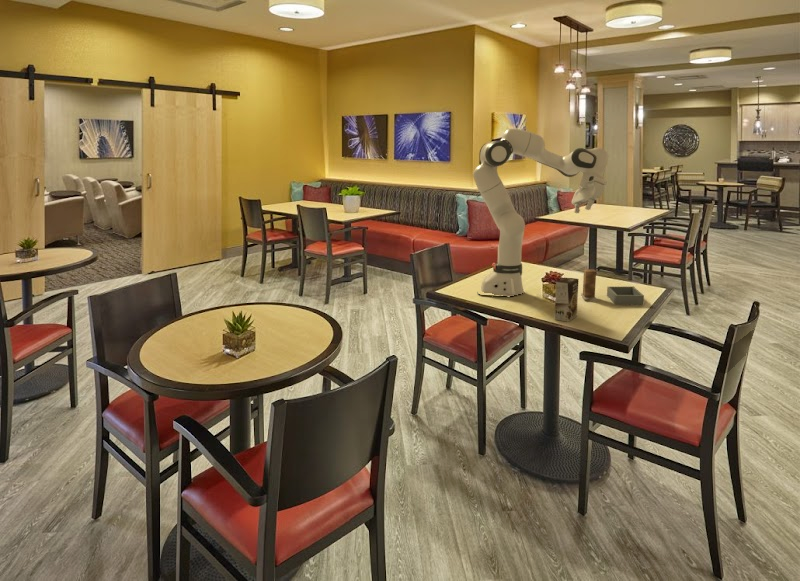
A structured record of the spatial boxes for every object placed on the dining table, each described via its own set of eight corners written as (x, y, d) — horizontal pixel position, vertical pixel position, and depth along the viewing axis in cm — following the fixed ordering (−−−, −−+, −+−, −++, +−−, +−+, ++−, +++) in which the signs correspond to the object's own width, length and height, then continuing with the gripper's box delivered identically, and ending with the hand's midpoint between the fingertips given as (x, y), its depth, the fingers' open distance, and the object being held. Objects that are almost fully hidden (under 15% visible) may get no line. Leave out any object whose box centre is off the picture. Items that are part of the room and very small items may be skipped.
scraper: (584, 301, 252) (586, 272, 249) (580, 295, 261) (582, 268, 257) (596, 301, 252) (598, 272, 248) (592, 295, 260) (593, 268, 257)
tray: (615, 305, 245) (616, 295, 244) (606, 295, 260) (607, 286, 259) (643, 305, 243) (644, 295, 242) (632, 295, 258) (633, 286, 257)
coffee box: (569, 322, 225) (571, 283, 220) (553, 319, 228) (555, 281, 224) (577, 316, 232) (579, 278, 227) (562, 313, 235) (563, 276, 231)
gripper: (573, 185, 266) (564, 212, 265) (597, 175, 247) (587, 204, 245) (584, 190, 268) (576, 217, 266) (609, 180, 248) (600, 209, 246)
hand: (581, 211), depth 256 cm, fingers open, 8 cm apart
